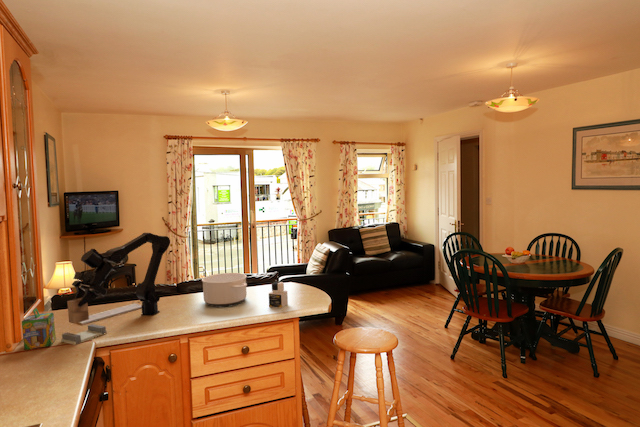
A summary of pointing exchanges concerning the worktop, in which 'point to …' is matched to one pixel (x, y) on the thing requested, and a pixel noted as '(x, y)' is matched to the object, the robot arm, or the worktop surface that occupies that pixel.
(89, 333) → the holder
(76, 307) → the brown block
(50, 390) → the worktop surface
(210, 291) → the pot
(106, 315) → the baseboard
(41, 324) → the chalk box
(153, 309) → the robot arm
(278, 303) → the medicine bottle
